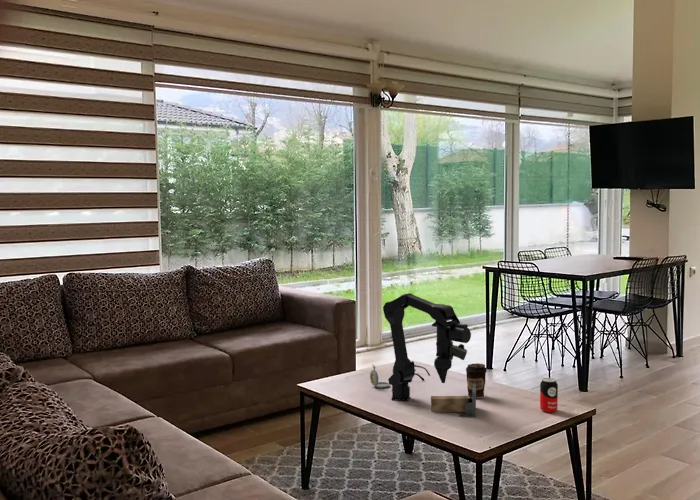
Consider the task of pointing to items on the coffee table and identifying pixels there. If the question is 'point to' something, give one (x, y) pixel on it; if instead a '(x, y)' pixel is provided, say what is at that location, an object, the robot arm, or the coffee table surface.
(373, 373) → the pocket watch
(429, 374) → the sunglasses
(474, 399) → the bracket
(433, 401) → the rail
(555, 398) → the beverage can
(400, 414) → the coffee table surface
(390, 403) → the coffee table surface
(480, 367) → the coffee cup
